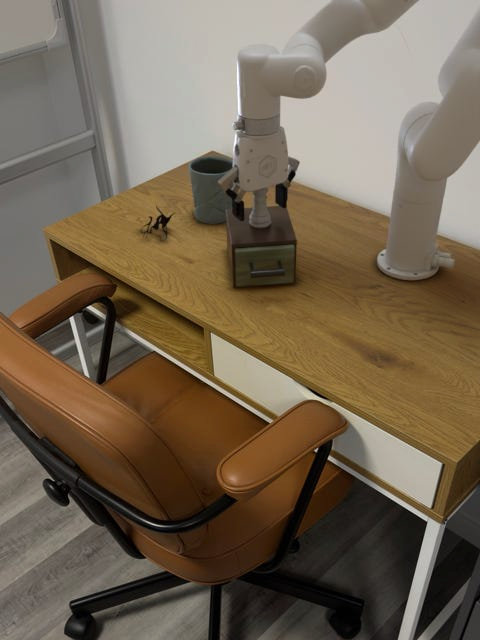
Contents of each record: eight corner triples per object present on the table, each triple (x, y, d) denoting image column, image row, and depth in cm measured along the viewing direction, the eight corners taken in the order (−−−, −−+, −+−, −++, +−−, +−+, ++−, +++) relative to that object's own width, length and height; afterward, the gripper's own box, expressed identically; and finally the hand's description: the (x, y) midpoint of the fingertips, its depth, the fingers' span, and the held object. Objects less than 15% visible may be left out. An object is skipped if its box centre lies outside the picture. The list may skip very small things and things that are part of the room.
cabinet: (295, 283, 142) (296, 239, 135) (233, 287, 141) (231, 244, 134) (285, 247, 152) (286, 205, 146) (227, 251, 152) (225, 209, 145)
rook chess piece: (269, 230, 138) (269, 191, 132) (247, 228, 139) (246, 189, 133) (272, 219, 141) (273, 180, 136) (251, 218, 142) (250, 179, 136)
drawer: (296, 294, 137) (298, 259, 131) (238, 299, 136) (237, 263, 131) (284, 248, 150) (284, 214, 144) (230, 252, 149) (229, 218, 144)
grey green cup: (186, 211, 166) (181, 160, 157) (225, 201, 169) (223, 151, 160) (203, 229, 159) (199, 177, 151) (243, 219, 162) (242, 168, 154)
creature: (158, 249, 155) (182, 229, 158) (152, 230, 151) (177, 209, 154) (134, 238, 159) (158, 218, 162) (127, 219, 154) (152, 199, 157)
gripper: (227, 140, 121) (231, 231, 133) (310, 119, 127) (307, 208, 139) (207, 126, 126) (212, 216, 138) (288, 106, 132) (286, 193, 144)
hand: (260, 211), depth 138 cm, fingers open, 9 cm apart
